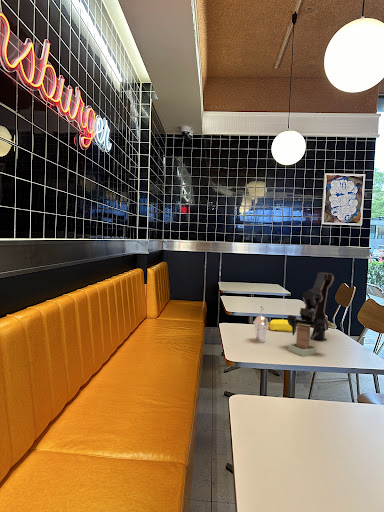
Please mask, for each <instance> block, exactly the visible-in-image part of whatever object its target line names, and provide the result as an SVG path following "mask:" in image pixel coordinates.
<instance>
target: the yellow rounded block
mask: <svg viewBox="0 0 384 512" xmlns="http://www.w3.org/2000/svg"><path fill="white" fill-rule="evenodd" d="M267 329H268V330H271V331H272V330H277V331H276V332H289V333H292V327H291V325H289V323H288V320H287V319H272V320H271V321H270V322H269V325H267ZM296 331H297V327H296Z"/></svg>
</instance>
